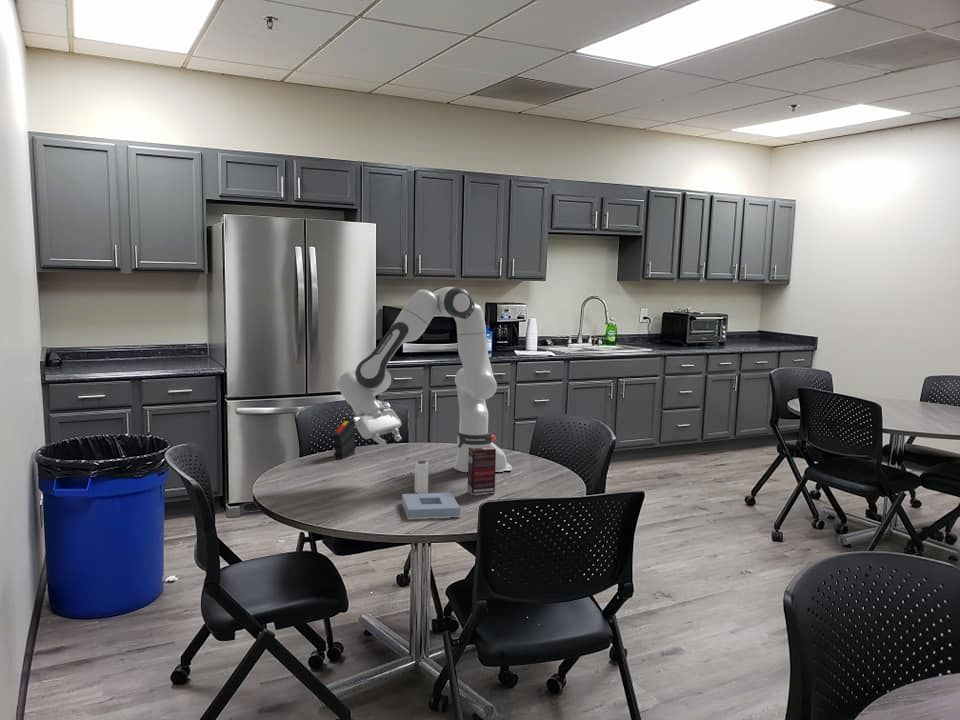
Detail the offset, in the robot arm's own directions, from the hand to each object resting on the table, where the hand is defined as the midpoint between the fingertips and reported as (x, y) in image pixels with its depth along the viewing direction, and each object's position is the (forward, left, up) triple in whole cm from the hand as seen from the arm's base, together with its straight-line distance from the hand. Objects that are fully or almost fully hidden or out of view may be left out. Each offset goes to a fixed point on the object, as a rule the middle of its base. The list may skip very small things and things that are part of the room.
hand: (392, 442), depth 249 cm
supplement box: (-29, +12, -16) cm, 35 cm away
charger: (-9, +8, -15) cm, 20 cm away
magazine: (+15, -42, -16) cm, 47 cm away
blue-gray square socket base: (-9, +28, -15) cm, 33 cm away
